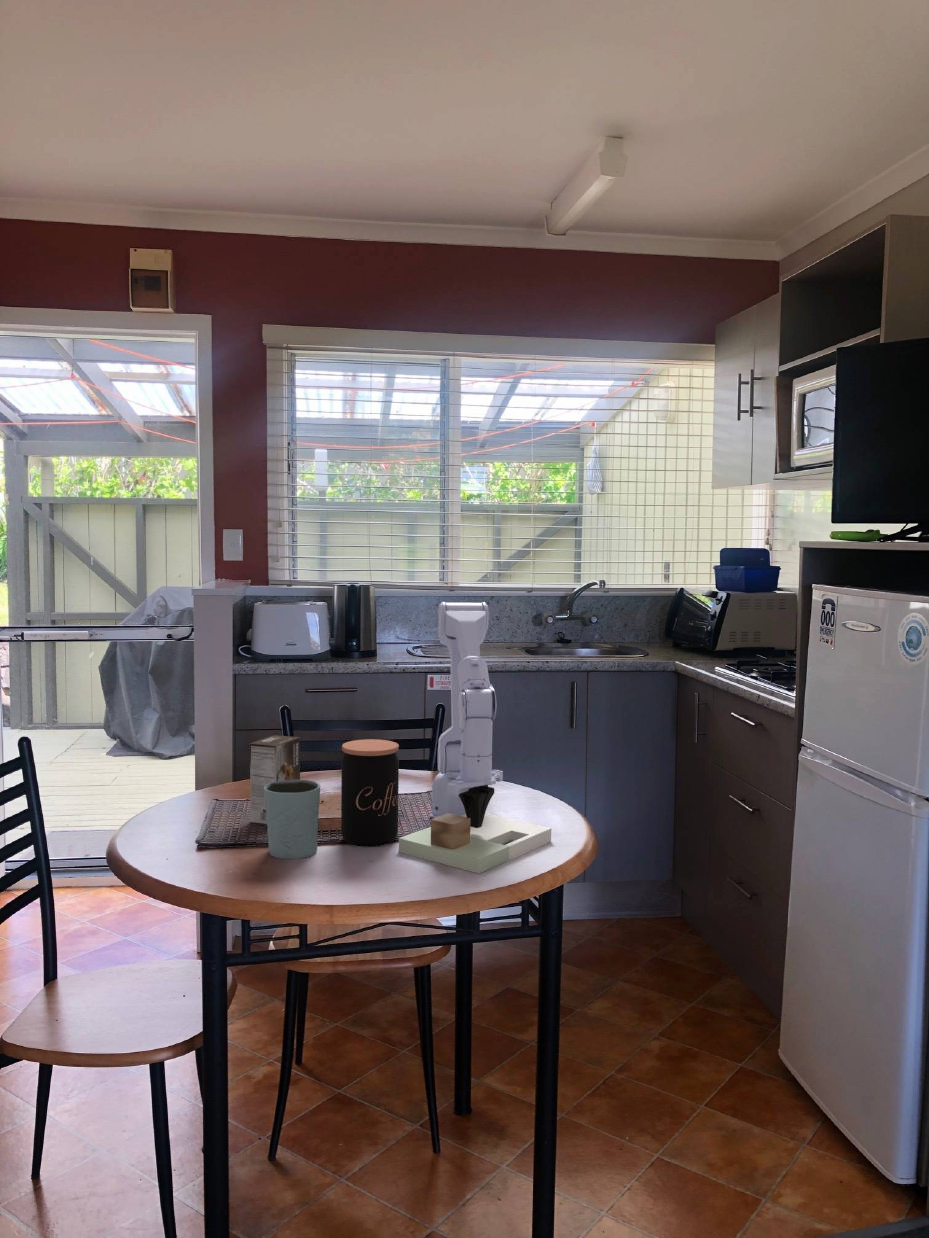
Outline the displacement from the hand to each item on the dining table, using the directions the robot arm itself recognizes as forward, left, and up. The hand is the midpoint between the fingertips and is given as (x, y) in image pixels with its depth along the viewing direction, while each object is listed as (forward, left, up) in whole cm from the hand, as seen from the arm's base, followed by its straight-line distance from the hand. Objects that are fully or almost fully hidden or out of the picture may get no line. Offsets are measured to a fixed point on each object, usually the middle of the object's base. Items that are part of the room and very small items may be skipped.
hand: (475, 826), depth 172 cm
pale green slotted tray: (0, 0, -4) cm, 4 cm away
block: (0, -8, -1) cm, 8 cm away
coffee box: (-42, -11, -4) cm, 44 cm away
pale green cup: (-24, -23, -4) cm, 33 cm away
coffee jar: (-18, -9, -4) cm, 21 cm away
